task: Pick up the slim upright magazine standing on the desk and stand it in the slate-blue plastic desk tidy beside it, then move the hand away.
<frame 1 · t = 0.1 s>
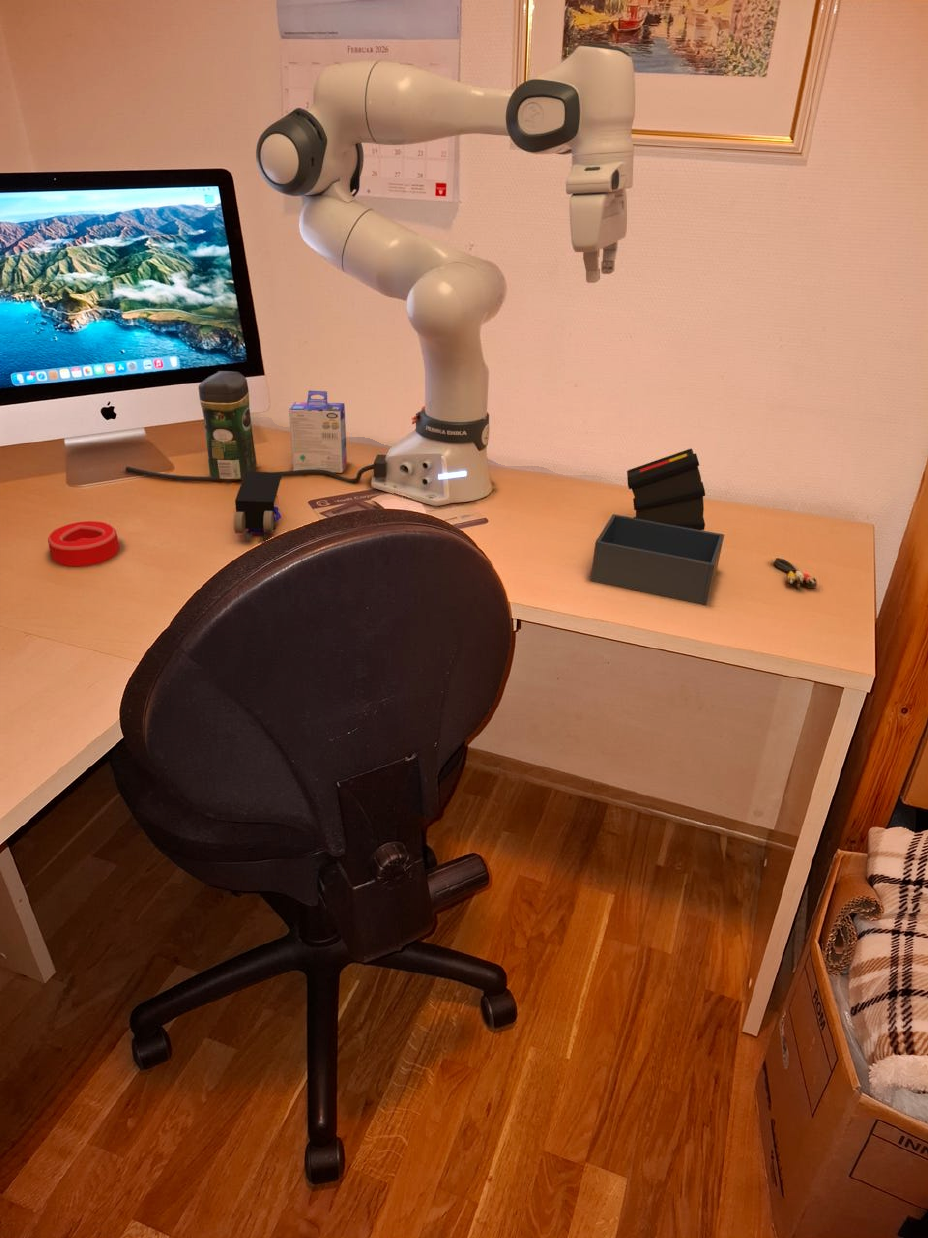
hand: (600, 277, 130), 39 cm above the table, tool pointing down, fingers open, 8 cm apart
decorative ornament: (86, 553, 130), on the table
magazine: (659, 537, 142), on the table
coffee jar: (233, 474, 159), on the table
composite cable: (794, 579, 131), on the table
desk tidy: (654, 576, 129), on the table
toy wheeled vehicle: (261, 528, 140), on the table
ink cartridge box: (320, 468, 164), on the table
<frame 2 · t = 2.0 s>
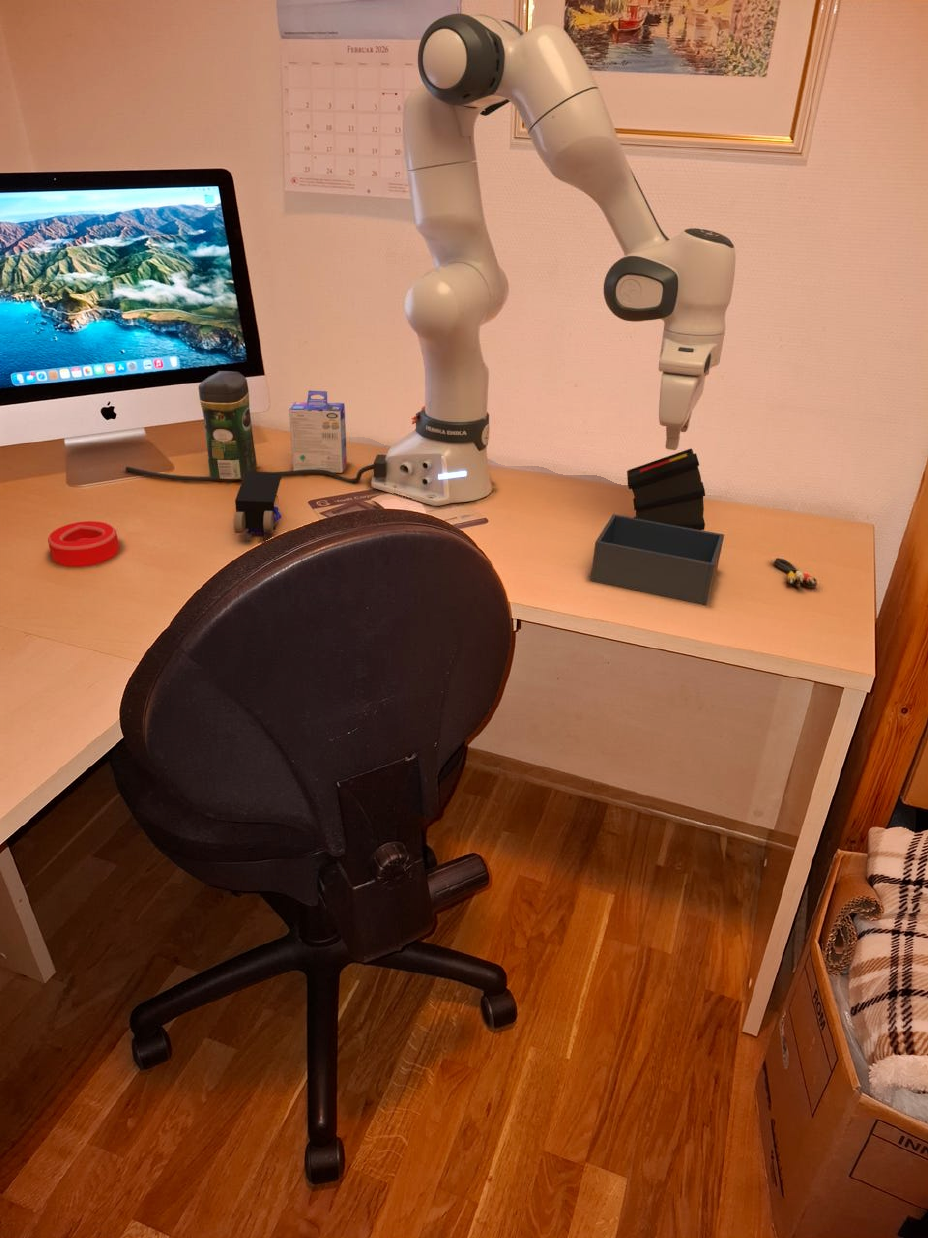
hand: (676, 439, 133), 17 cm above the table, tool pointing down, fingers open, 8 cm apart
nothing on the table moved.
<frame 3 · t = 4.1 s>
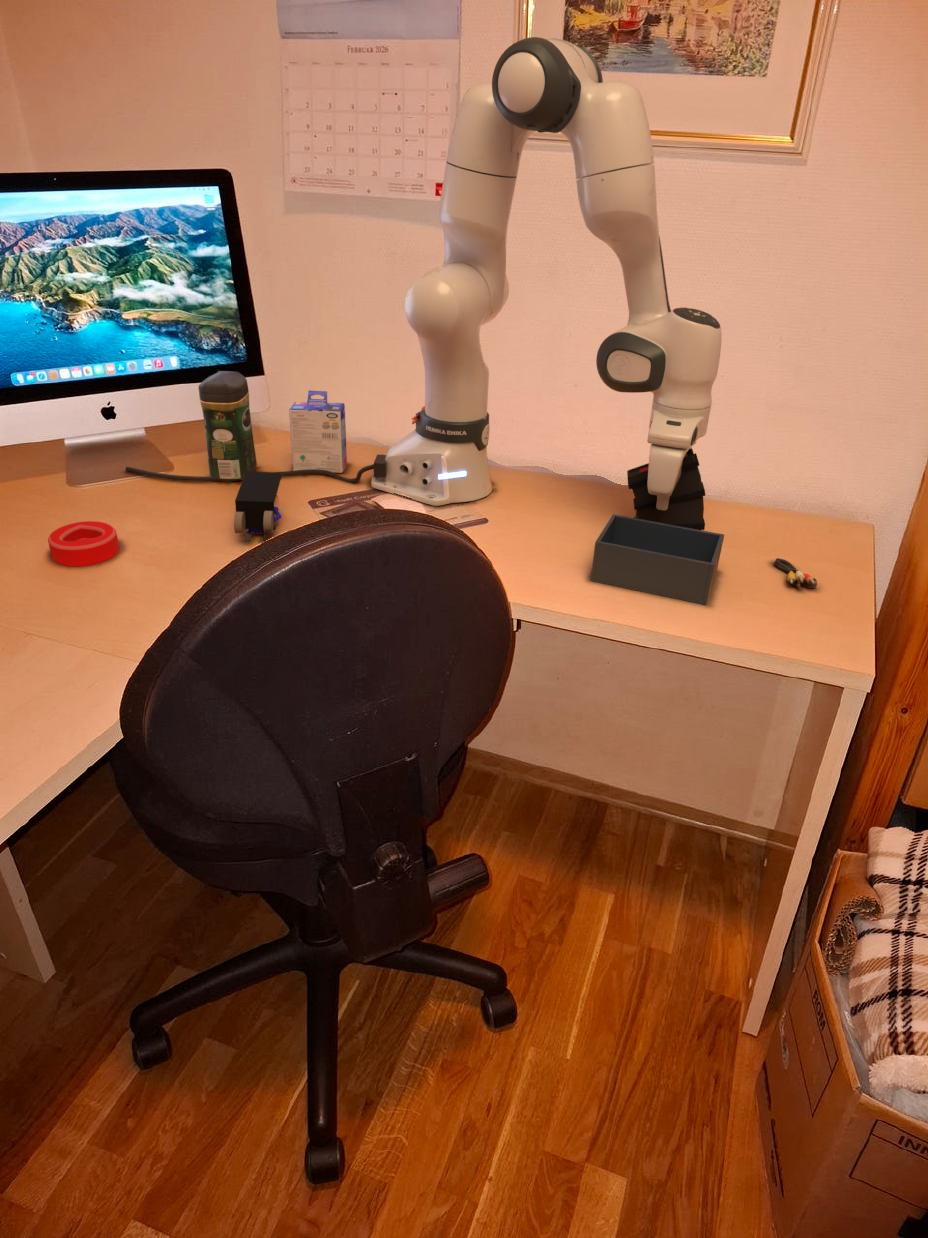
hand: (665, 502, 139), 6 cm above the table, tool pointing down, fingers closed on magazine, 4 cm apart
magazine: (659, 537, 142), on the table, touching gripper
everything else where it was.
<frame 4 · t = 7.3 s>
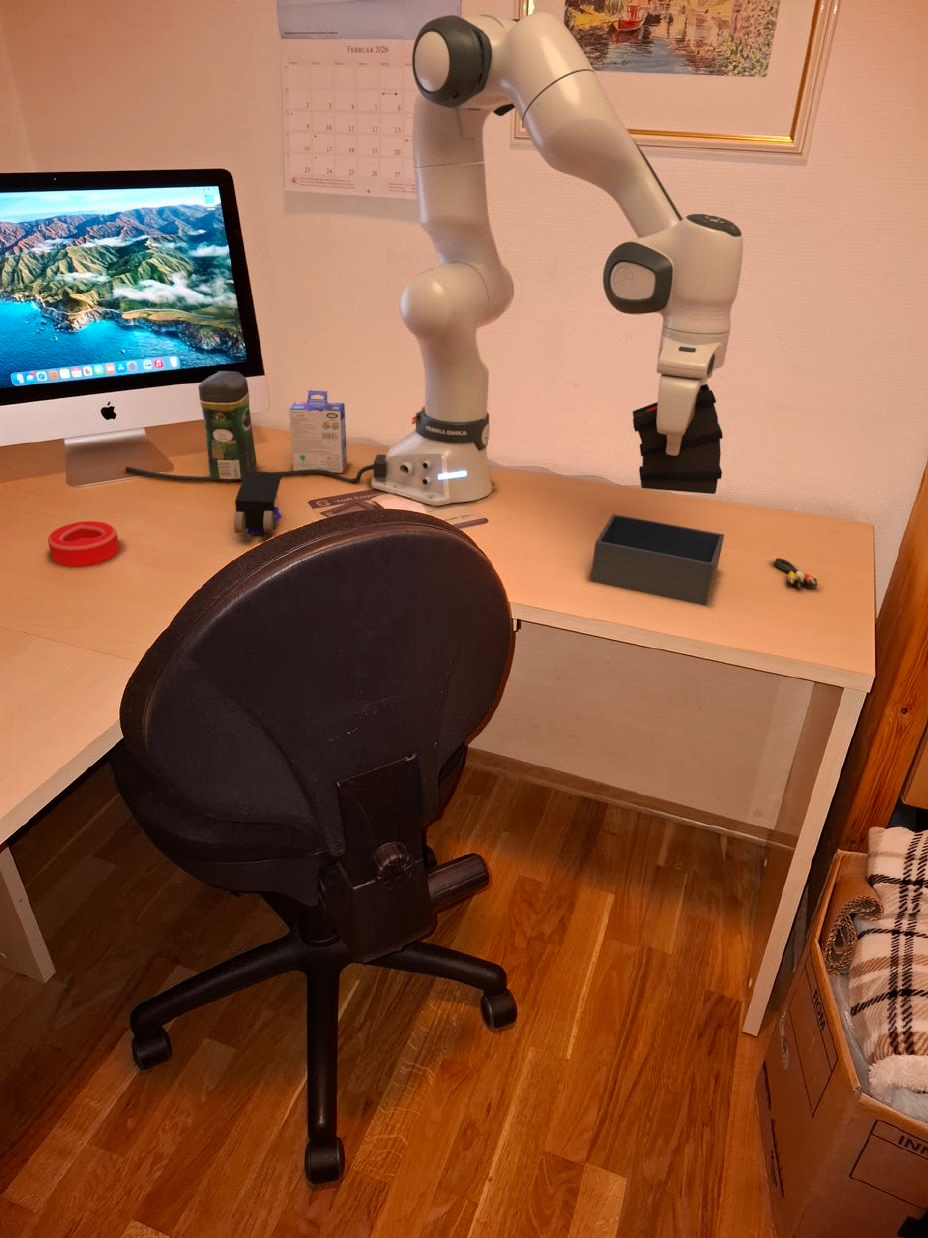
hand: (675, 447, 121), 20 cm above the table, tool pointing down, fingers closed on magazine, 4 cm apart
magazine: (669, 488, 124), point 13 cm above the table, touching gripper
everything else where it was.
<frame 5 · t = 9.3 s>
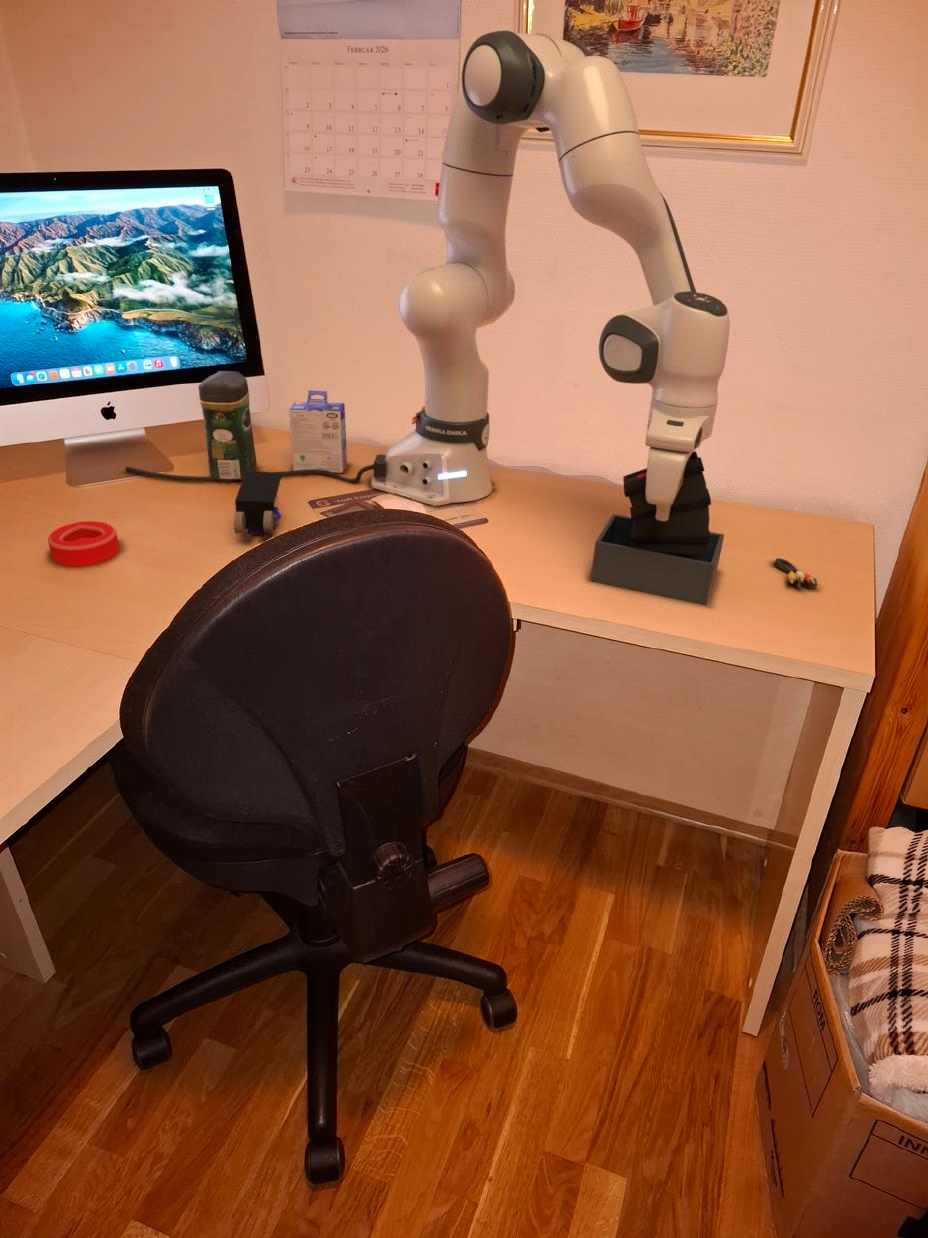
hand: (665, 511, 124), 11 cm above the table, tool pointing down, fingers closed on magazine, 4 cm apart
magazine: (659, 550, 127), point 4 cm above the table, touching gripper
everything else where it was.
when the fingers open (6 cm above the table, at t = 11.3 s): magazine stays where it is, resting on desk tidy.
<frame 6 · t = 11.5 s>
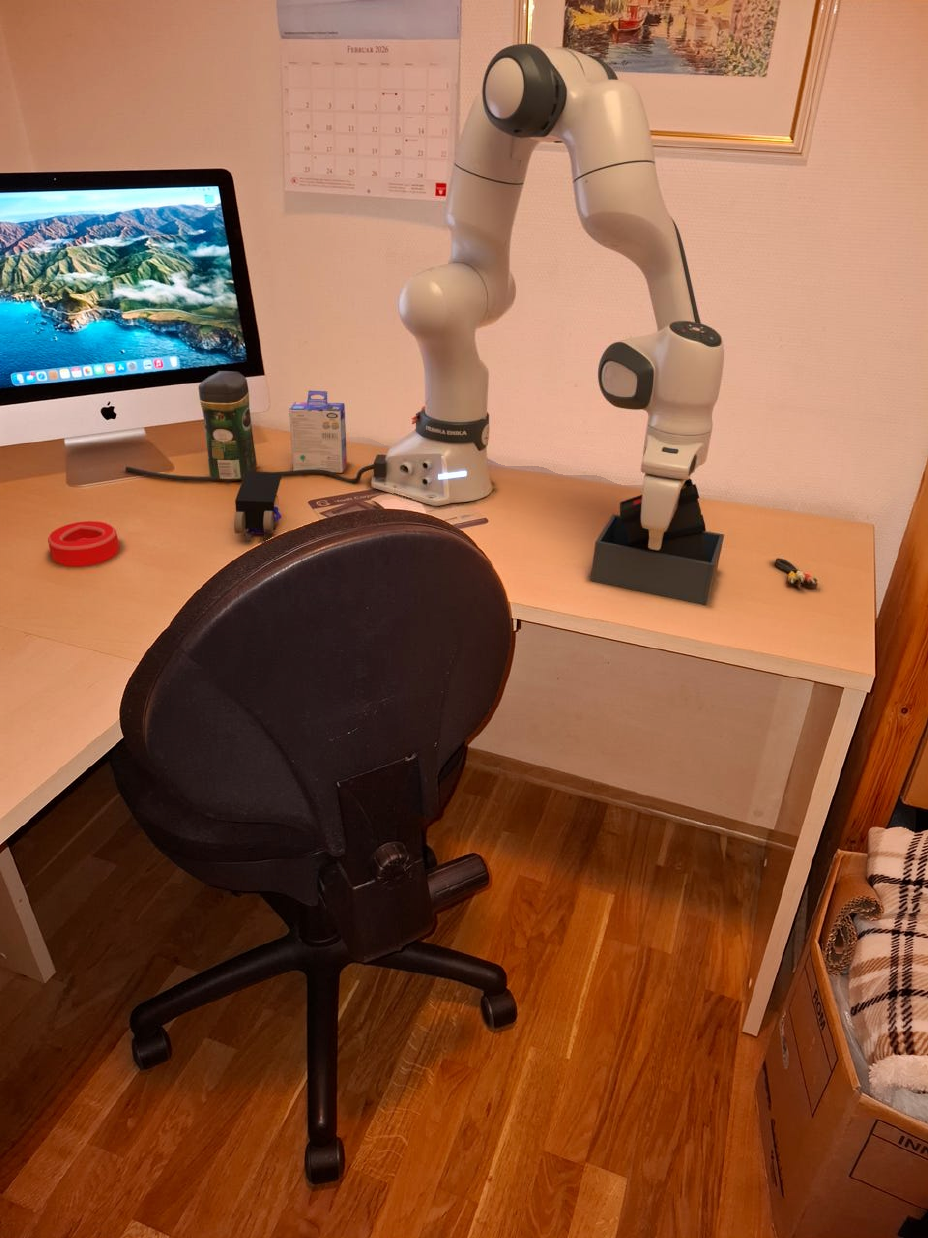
hand: (660, 534, 126), 7 cm above the table, tool pointing down, fingers open, 8 cm apart
magazine: (655, 574, 129), resting on desk tidy
everything else where it was.
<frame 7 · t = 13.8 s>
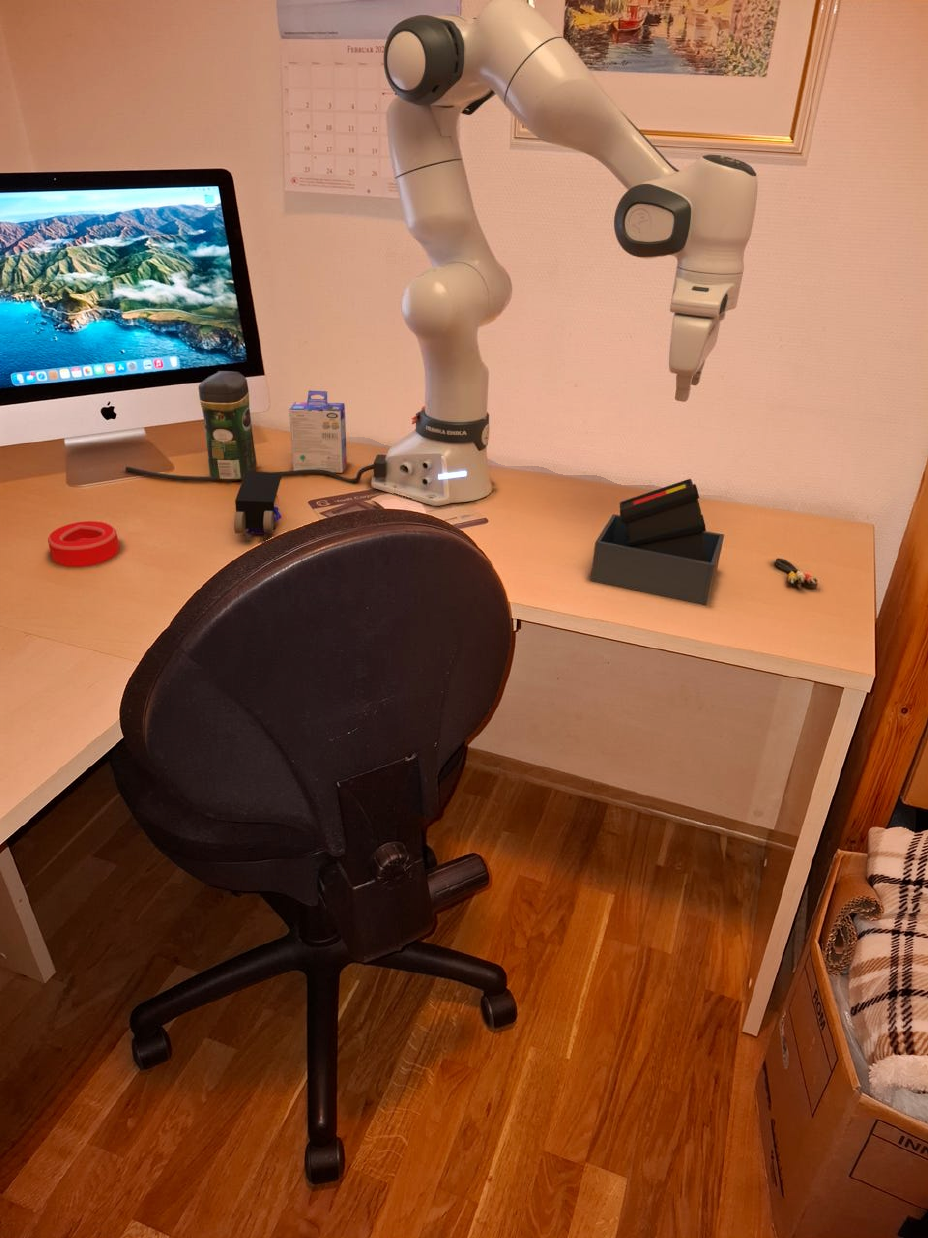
hand: (687, 391, 123), 26 cm above the table, tool pointing down, fingers open, 8 cm apart
nothing on the table moved.
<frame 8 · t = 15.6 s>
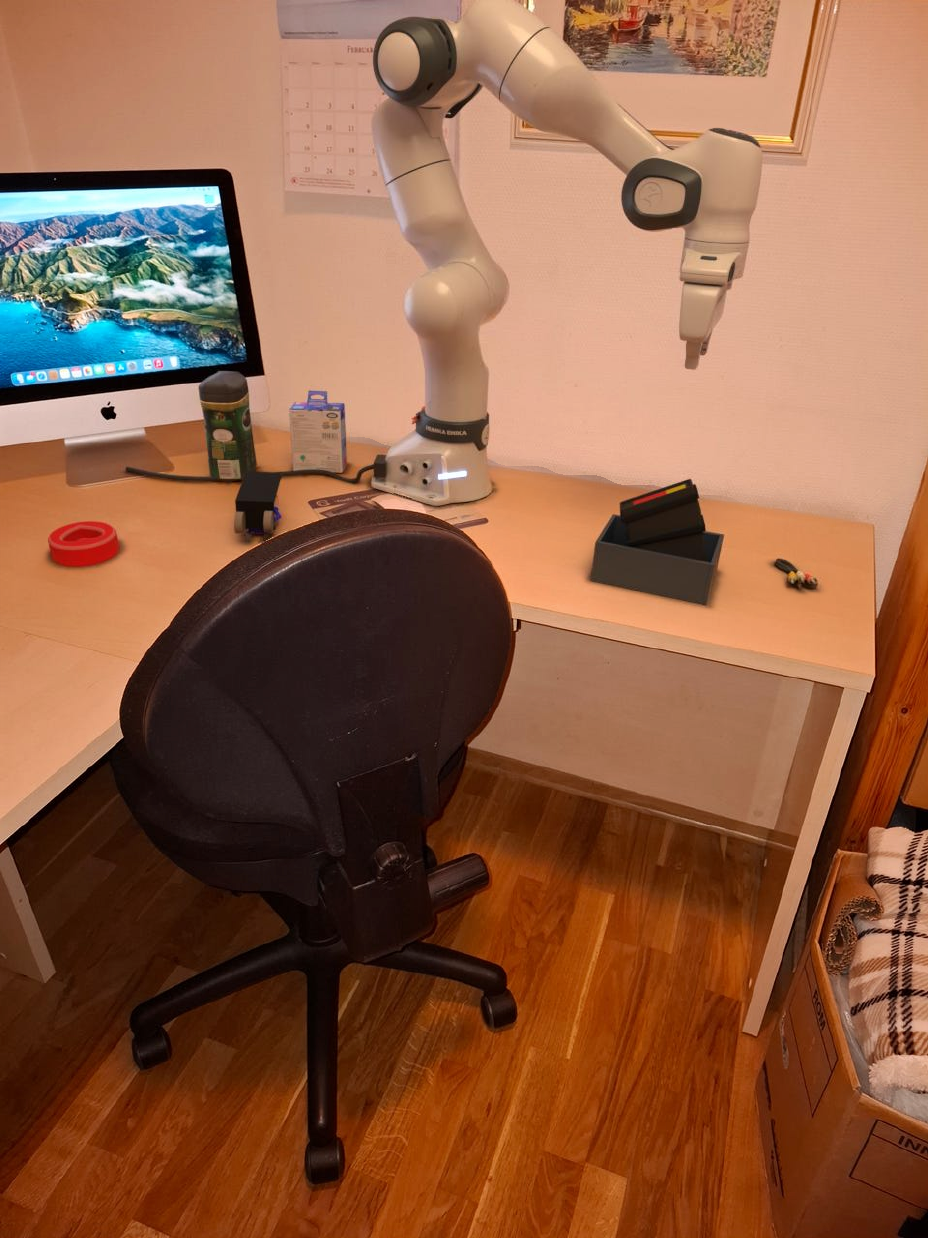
hand: (695, 360, 127), 29 cm above the table, tool pointing down, fingers open, 8 cm apart
nothing on the table moved.
at the end: magazine inside the target area in the desk tidy (0.1 cm from its centre), point 0.3 cm above the desk tidy's base; magazine tilted 0°; the gripper is holding nothing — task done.
